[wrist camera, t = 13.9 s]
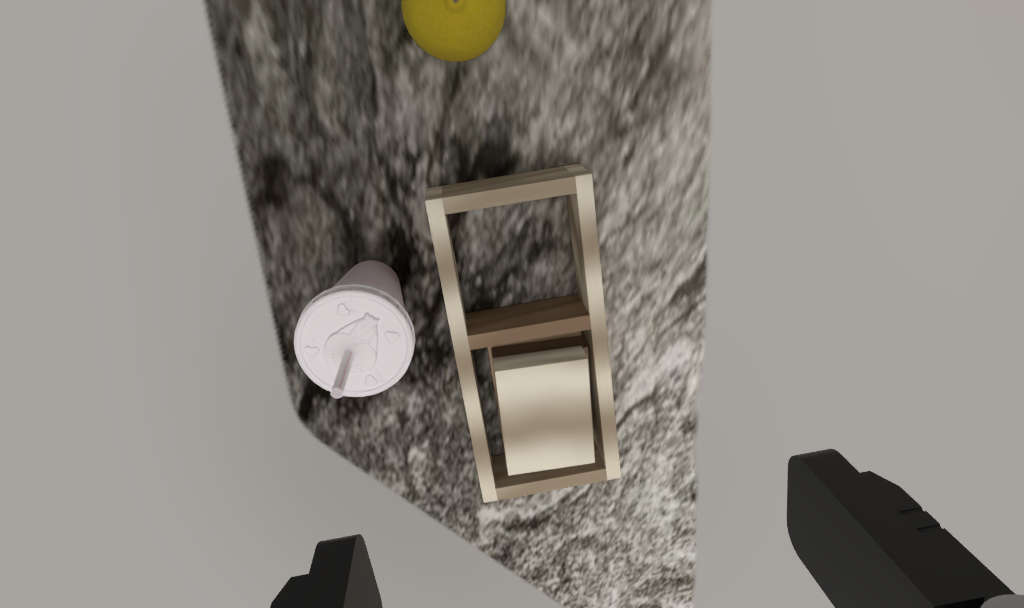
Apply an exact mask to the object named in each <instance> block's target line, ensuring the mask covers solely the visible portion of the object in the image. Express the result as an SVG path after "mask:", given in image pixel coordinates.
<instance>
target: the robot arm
mask: <svg viewBox="0 0 1024 608" xmlns="http://www.w3.org/2000/svg"><path fill="white" fill-rule="evenodd" d="M787 492H788V493H787V527H788V532H789V536H790V539H791V542H792V545H793V547H794V549H795V551H796V553H797V555H798V556H799V558H800V559H801V561H802V562H803V564H804V565H805V566H806V568H807V569H808V570H809V572H810V573H811V575H812V576H813V577H814V579H815V580H816V582H817V583H818V584H819V586H820V587H821V589H822V590H823V591H824V593H825V594H826V596H827V597H828V598H829V600H830V601H831V602H832V604H833V605H834V607H835V608H1024V595H1016V594H1015V593H1013V592H1012V591H1011V590H1010V589H1009V588H1008V587H1007V586H1006V585H1005V584H1004V583H1003V582H1002V581H1000V580H999V579H998V578H997V577H996V576H995V575H994V574H993V573H992V572H991V571H990V570H989V569H987V567H985V566H984V565H983V564H982V563H981V562H980V561H979V560H978V559H977V558H976V557H975V556H974V555H973V554H972V553H970V552H969V551H968V550H967V549H966V548H965V547H964V546H963V545H962V544H961V543H960V542H959V541H958V540H956V539H955V538H954V537H953V536H952V535H951V534H950V533H949V532H948V531H947V530H946V529H942V528H941V527H940V524H939V523H938V522H937V521H936V520H935V519H934V518H933V517H932V516H931V515H930V514H929V513H928V512H926V511H925V512H924V511H923V510H922V507H921V506H920V505H919V504H918V503H917V502H916V501H915V500H913V498H911V497H910V496H909V495H908V494H907V493H906V492H905V491H904V490H903V489H902V488H901V487H899V486H898V485H896V484H894V483H892V482H890V481H888V480H886V479H884V478H882V477H880V476H878V475H877V474H875V473H873V472H871V471H867V472H862V473H859V472H858V471H857V470H856V469H855V468H854V467H853V466H852V465H851V464H850V463H849V462H848V461H847V460H846V459H845V458H844V457H843V456H842V455H841V454H840V453H839V452H838V451H836V450H834V449H827V450H822V451H817V452H811V453H806V454H800V455H795V456H792V457H791V458H790V460H789V463H788V491H787ZM270 608H382V602H381V597H380V593H379V590H378V587H377V583H376V580H375V576H374V573H373V569H372V566H371V562H370V559H369V555H368V552H367V548H366V545H365V542H364V539H363V537H362V536H361V535H360V534H358V535H353V536H347V537H342V538H337V539H331V540H326V541H320V542H319V543H318V544H317V546H316V549H315V553H314V557H313V560H312V564H311V568H310V572H309V574H306V575H300V576H295V577H291V578H290V579H289V580H288V582H287V583H286V585H285V586H284V587H283V589H282V590H281V591H280V592H279V594H278V595H277V596H276V598H275V599H274V600H273V602H272V604H271V607H270Z"/></svg>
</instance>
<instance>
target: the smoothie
mask: <svg viewBox="0 0 1024 608" xmlns="http://www.w3.org/2000/svg"><path fill="white" fill-rule="evenodd" d="M414 345H415V334H414V327H413V324H412V322H411V319H410V317H409V315H408V313H407V311H406V310H405V308H404V303H403V298H402V292H401V287H400V282H399V279H398V276H397V274H396V273H395V271H394V270H393V269H392V268H391V267H389V266H388V265H386V264H385V263H382V262H379V261H374V260H369V261H363V262H360V263H358V264H356V265H355V266H354V267H352V268H351V269H350V270H349V271H348V272H347V273H346V274H345V275H344V276H343V277H342V278H341V279H340V280H339V281H338V282H337V283H336V284H335V285H334V286H333V287H332V288H330V289H328V290H325V291H323V292H322V293H320V294H319V295H317V296H316V297H315V298H313V299H312V300H311V301H310V302H309V304H308V305H307V306H306V307H305V309H304V310H303V311H302V314H301V316H300V319H299V321H298V324H297V327H296V330H295V336H294V348H295V353H296V356H297V359H298V362H299V364H300V366H301V367H302V369H303V370H304V372H305V373H306V374H307V376H308V377H309V378H310V379H311V380H312V381H314V382H315V383H316V384H317V385H319V386H320V387H322V388H324V389H326V390H328V391H330V392H331V395H332V397H334V398H340V397H342V395H343V396H349V397H362V396H369V395H373V394H377V393H379V392H382V391H384V390H386V389H388V388H389V387H391V386H392V385H394V384H395V383H396V382H397V381H398V380H399V379H400V378H401V377H402V376H403V375H404V373H405V372H406V370H407V368H408V366H409V364H410V362H411V359H412V355H413V352H414Z"/></svg>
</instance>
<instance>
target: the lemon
mask: <svg viewBox="0 0 1024 608" xmlns="http://www.w3.org/2000/svg"><path fill="white" fill-rule="evenodd" d="M401 6H402V13H403V19H404V22H405V24H406V27H407V29H408V32H409V34H410V35H411V36H412V38H413V39H414V41H415V42H416V43H417V45H419V46H420V47H421V48H422V49H423V50H424V51H425V52H427V53H428V54H430V55H432V56H434V57H436V58H438V59H440V60H445V61H450V62H459V61H467V60H470V59H473V58H476V57H478V56H479V55H481V54H482V53H484V52H485V51H486V50H488V49H489V47H490V46H491V45H492V44H493V43H494V42H495V41H496V39H497V37H498V35H499V33H500V31H501V29H502V27H503V23H504V19H505V15H506V0H402V1H401Z"/></svg>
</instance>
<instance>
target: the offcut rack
mask: <svg viewBox="0 0 1024 608" xmlns="http://www.w3.org/2000/svg"><path fill="white" fill-rule="evenodd" d="M562 195H567V203H568V212H569V221H570V230H571V239H572V248H573V257H574V266H575V274H576V283H577V292H578V294H575V295H569V296H563V297H557V298H551V299H546V300H540V301H534V302H528V303H522V304H516V305H510V306H505V307H499V308H493V309H487V310H481V311H475V312H469V313H465V309H464V303H463V298H462V293H461V287H460V282H459V276H458V271H457V265H456V260H455V254H454V249H453V244H452V238H451V233H450V227H449V222H448V216H447V214H452V213H458V212H464V211H470V210H477V209H483V208H489V207H495V206H501V205H507V204H513V203H519V202H525V201H532V200H538V199H544V198H550V197H556V196H562ZM425 204H426V209H427V214H428V219H429V224H430V230H431V235H432V240H433V245H434V250H435V255H436V260H437V265H438V271H439V276H440V281H441V286H442V291H443V296H444V301H445V306H446V312H447V317H448V322H449V327H450V332H451V337H452V342H453V347H454V353H455V358H456V363H457V368H458V373H459V378H460V383H461V388H462V394H463V399H464V404H465V409H466V414H467V419H468V424H469V429H470V435H471V440H472V445H473V450H474V455H475V460H476V465H477V470H478V476H479V481H480V486H481V491H482V496H483V501H484V503H486V502H491V501H497V500H502V499H508V498H513V497H518V496H524V495H529V494H535V493H540V492H546V491H551V490H557V489H562V488H568V487H573V486H578V485H584V484H589V483H595V482H600V481H606V480H611V479H617V478H621V474H620V463H619V453H618V443H617V432H616V422H615V411H614V401H613V390H612V380H611V370H610V359H609V349H608V338H607V328H606V317H605V307H604V297H603V286H602V276H601V265H600V255H599V245H598V234H597V224H596V213H595V203H594V192H593V182H592V174H591V173H590V172H589V171H587V170H586V169H585V168H583V167H582V166H581V165H579V164H574V165H568V166H561V167H555V168H549V169H543V170H537V171H530V172H524V173H518V174H512V175H506V176H499V177H493V178H487V179H481V180H475V181H469V182H462V183H456V184H450V185H444V186H438V187H431V188H427V189H426V197H425ZM578 331H582V337H583V339H584V341H585V343H586V345H587V347H588V360H589V375H590V390H591V406H592V421H593V436H594V452H595V453H594V457H595V463H590V464H583V465H577V466H570V467H563V468H557V469H550V470H543V471H537V472H530V473H523V474H516V475H510V476H508V470H507V465H506V460H505V454H502V455H496V456H491V451H490V445H489V440H488V434H487V429H486V423H485V418H484V412H483V407H482V402H481V396H480V391H479V385H478V380H477V374H476V369H475V363H474V358H473V353H472V350H474V349H479V348H485V347H491V346H497V345H503V344H508V343H514V342H520V341H526V340H531V339H537V338H543V337H549V336H555V335H560V334H566V333H572V332H578Z"/></svg>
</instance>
